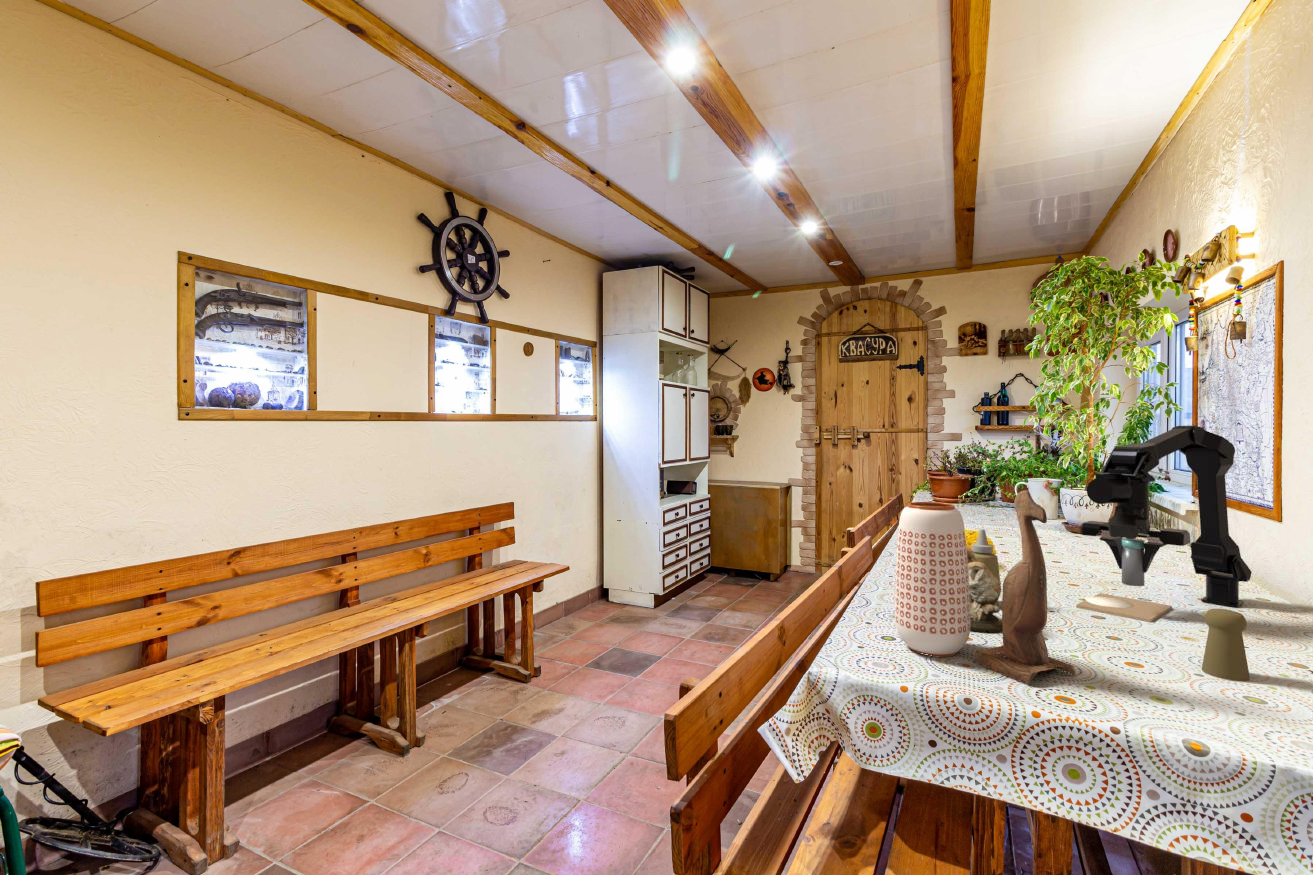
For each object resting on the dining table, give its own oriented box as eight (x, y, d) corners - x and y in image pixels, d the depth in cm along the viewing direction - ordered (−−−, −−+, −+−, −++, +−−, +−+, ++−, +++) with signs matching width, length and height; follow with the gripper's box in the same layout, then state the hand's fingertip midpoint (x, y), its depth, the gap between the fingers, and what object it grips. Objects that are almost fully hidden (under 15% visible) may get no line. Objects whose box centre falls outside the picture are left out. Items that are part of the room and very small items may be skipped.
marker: (1124, 580, 137) (1124, 537, 137) (1147, 584, 134) (1146, 539, 134) (1118, 583, 135) (1118, 539, 134) (1141, 587, 131) (1141, 542, 131)
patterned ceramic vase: (939, 667, 106) (938, 510, 106) (880, 643, 118) (879, 503, 118) (986, 653, 112) (985, 505, 112) (925, 632, 124) (924, 498, 124)
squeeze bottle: (997, 600, 147) (997, 528, 147) (1005, 609, 139) (1004, 533, 139) (961, 597, 149) (961, 526, 149) (966, 606, 142) (966, 531, 142)
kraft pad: (1098, 594, 150) (1098, 592, 150) (1172, 608, 139) (1172, 605, 139) (1073, 606, 141) (1073, 603, 141) (1150, 622, 129) (1150, 618, 129)
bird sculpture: (1034, 690, 97) (1040, 496, 96) (971, 662, 108) (976, 488, 107) (1077, 678, 102) (1083, 493, 101) (1012, 653, 113) (1017, 486, 111)
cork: (1260, 682, 98) (1260, 616, 98) (1217, 679, 100) (1217, 614, 100) (1232, 668, 104) (1232, 605, 104) (1192, 665, 106) (1192, 604, 106)
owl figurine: (907, 616, 136) (907, 541, 136) (935, 607, 142) (934, 536, 142) (989, 637, 121) (988, 554, 121) (1015, 626, 128) (1015, 547, 128)
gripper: (1070, 501, 137) (1071, 568, 137) (1176, 509, 122) (1176, 584, 122) (1088, 497, 143) (1089, 561, 143) (1190, 504, 128) (1191, 576, 128)
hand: (1133, 570), depth 134 cm, fingers closed on marker, 4 cm apart
